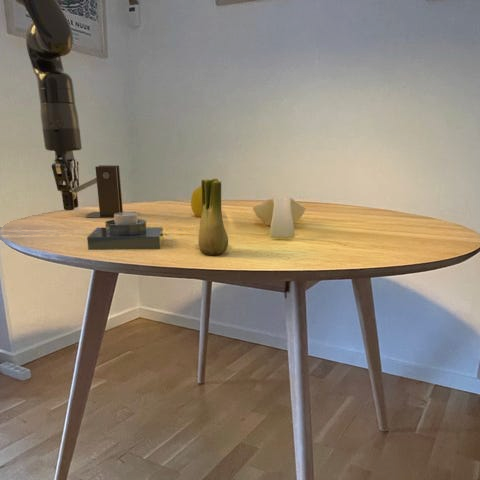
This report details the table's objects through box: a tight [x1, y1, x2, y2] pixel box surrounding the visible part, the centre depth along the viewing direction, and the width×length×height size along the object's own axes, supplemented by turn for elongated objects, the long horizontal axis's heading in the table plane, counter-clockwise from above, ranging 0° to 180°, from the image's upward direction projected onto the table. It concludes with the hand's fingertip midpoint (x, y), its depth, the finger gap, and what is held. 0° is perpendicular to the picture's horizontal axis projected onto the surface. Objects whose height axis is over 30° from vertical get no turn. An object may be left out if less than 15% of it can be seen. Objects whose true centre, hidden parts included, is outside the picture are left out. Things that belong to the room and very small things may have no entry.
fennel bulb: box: [197, 178, 229, 256], centre depth 75 cm, size 6×5×12 cm
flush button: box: [113, 211, 139, 224], centre depth 82 cm, size 4×4×2 cm
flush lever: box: [60, 177, 97, 199], centre depth 105 cm, size 13×3×3 cm, turn 96°
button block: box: [86, 218, 164, 251], centre depth 83 cm, size 12×9×4 cm
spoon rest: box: [252, 196, 307, 240], centre depth 98 cm, size 24×12×7 cm, turn 179°
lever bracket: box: [85, 164, 137, 219], centre depth 106 cm, size 10×8×12 cm
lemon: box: [190, 184, 202, 218], centre depth 107 cm, size 6×6×8 cm
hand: (71, 208), depth 106 cm, fingers closed on flush lever, 3 cm apart
